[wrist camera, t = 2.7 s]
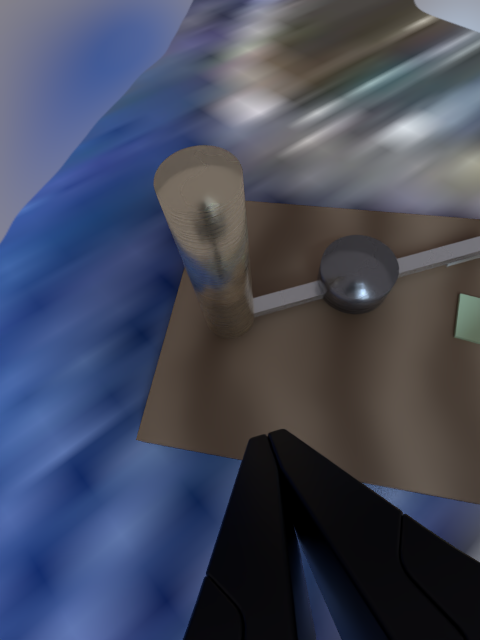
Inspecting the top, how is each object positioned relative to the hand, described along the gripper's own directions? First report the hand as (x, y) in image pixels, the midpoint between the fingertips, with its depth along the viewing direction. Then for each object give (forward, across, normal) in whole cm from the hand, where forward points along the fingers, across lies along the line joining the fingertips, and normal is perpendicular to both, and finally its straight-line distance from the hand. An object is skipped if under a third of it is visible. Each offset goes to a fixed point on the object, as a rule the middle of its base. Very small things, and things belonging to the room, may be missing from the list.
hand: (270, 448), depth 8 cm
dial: (+14, -8, +1) cm, 16 cm away
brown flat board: (+14, -8, +4) cm, 16 cm away
